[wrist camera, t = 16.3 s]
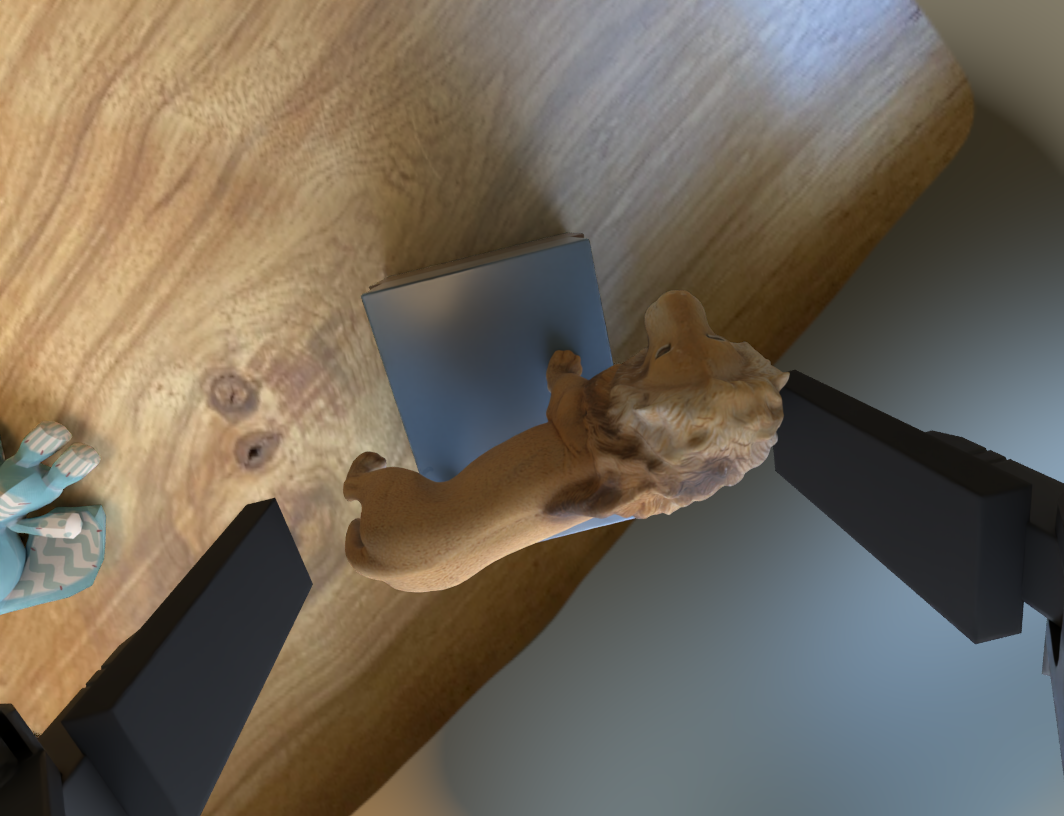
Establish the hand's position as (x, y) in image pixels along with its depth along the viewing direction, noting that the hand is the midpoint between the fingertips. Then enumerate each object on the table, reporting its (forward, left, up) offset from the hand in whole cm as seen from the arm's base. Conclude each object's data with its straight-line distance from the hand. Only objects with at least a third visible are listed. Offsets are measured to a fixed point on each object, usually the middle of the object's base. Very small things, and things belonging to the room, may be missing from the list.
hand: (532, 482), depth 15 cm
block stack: (0, 0, -15) cm, 15 cm away
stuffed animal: (+26, +1, -15) cm, 30 cm away
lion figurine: (0, 0, -6) cm, 6 cm away
